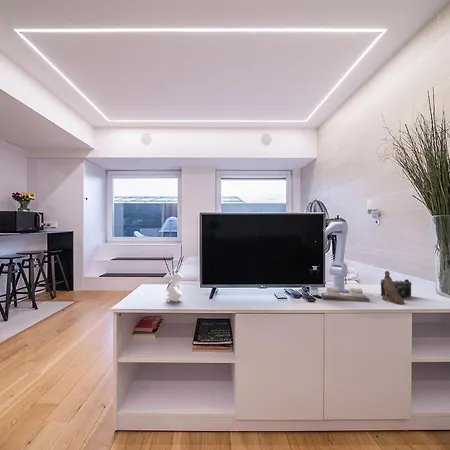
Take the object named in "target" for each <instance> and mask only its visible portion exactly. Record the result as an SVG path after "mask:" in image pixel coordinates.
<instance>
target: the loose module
mask: <svg viewBox="0 0 450 450" xmlns="http://www.w3.org/2000/svg"><path fill="white" fill-rule="evenodd" d="M310 294H312V295H318V296H319V286H318V287H310V286H309V295H310Z"/></svg>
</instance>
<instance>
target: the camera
mask: <svg viewBox="0 0 450 450" xmlns="http://www.w3.org/2000/svg"><path fill="white" fill-rule="evenodd" d="M392 281H393V284H394V286H395V288H396V289H397V291H398V293H399V295H400V296H401V298H406V297H407V298H408V297H412V285H413V283H412V281H410V280H409V279H405V280H404V281H402V280H395V281H394V280H392ZM384 283H385V280H384V278H383V279H381V280H380V293H381V294H380V296H381V297H383V296H386V295H385V290H384V287H383V284H384Z"/></svg>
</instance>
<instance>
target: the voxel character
mask: <svg viewBox="0 0 450 450" xmlns="http://www.w3.org/2000/svg"><path fill="white" fill-rule="evenodd" d="M169 277H170V281H171V283H170V284H169V286H168V287H167V288H166V289H165V290H166V292H168V294H167V298H166V299H165V301H166V302H168V303H170V302H171V301H174V302H176V303H177V302H178V301H179V300H180V298H181V296H182V295H183V292H182V291H181V290H180V289H178V288H177V287H176V285H177V284H178V282H181V280H182V279H183V278H184V276H183V275H182V274H181V273H179V272H175V273H174V274H170V275H169Z"/></svg>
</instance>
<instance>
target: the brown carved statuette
mask: <svg viewBox="0 0 450 450" xmlns="http://www.w3.org/2000/svg"><path fill="white" fill-rule="evenodd" d="M384 275H385V276H384V277H383V279H384V280H385V283H384V284H383V287H384V290H385V295H386V296H381V300H383V301H387V302H389V303H392V304H394V305H395V304H396V305H405V301H404V299H403V297H401V296H400V295H399V293H398V291H397V289H396V288H395V286H394V284H393V281H394V280H393V279H392V277H391V276H390V271H388V270H386V271H385V272H384Z"/></svg>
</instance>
